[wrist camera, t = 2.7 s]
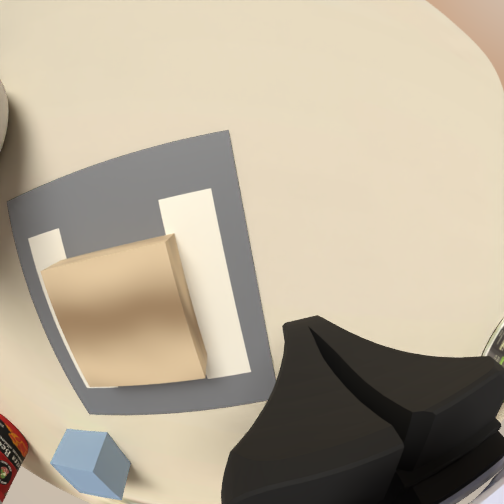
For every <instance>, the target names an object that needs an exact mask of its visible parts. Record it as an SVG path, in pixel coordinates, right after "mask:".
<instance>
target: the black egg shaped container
mask: <svg viewBox="0 0 504 504" xmlns="http://www.w3.org/2000/svg"><path fill="white" fill-rule="evenodd" d="M7 125H8V99H7V94H6V91H5V88H4V85H3V84H2V82H1V80H0V152H1V149H2V146H3V143H4V139H5V135H6V131H7Z"/></svg>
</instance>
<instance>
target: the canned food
mask: <svg viewBox="0 0 504 504" xmlns="http://www.w3.org/2000/svg"><path fill="white" fill-rule="evenodd" d="M27 453H28V444H27V441H26V440H25V438H24V437H23V435H22V434H21V433H20V432H19V430H18V429H17V428H16V427H15V426H14V425H13V424H12V423H11V422H10V421H9V420H7V419H6V418H5V417H4V416H3V415H1V414H0V504H2V502H3V500H4V498H5V496H6V494H7V492H8V490H9V488H10V485H11V484H12V482H13V480H14V478H15V476H16V474H17V472H18V470H19V468H20V466H21V464H22V462H23V460H24V459H25V457H26V455H27Z"/></svg>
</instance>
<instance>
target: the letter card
mask: <svg viewBox="0 0 504 504" xmlns="http://www.w3.org/2000/svg"><path fill="white" fill-rule="evenodd" d="M7 206H8V212H9V217H10V222H11V227H12V232H13V236H14V240H15V245H16V249H17V252H18V256H19V260H20V263H21V267H22V270H23V274H24V277H25V280H26V283H27V286H28V289H29V292H30V295H31V298H32V300H33V303H34V306H35V308H36V311H37V314H38V316H39V319H40V321H41V324H42V326H43V328H44V331H45V333H46V335H47V337H48V340H49V342H50V344H51V346H52V348H53V350H54V352H55V355H56V357H57V359H58V361H59V363H60V364H61V366H62V368H63V370H64V372H65V374H66V376H67V378H68V379H69V381H70V383H71V385H72V387H73V388H74V390H75V392H76V393H77V395H78V397H79V398H80V400H81V402H82V403H83V405H84V406H85V408H86V410H87V411H88V413H89V414H96V415H148V414H167V413H181V412H192V411H201V410H210V409H217V408H225V407H231V406H238V405H244V404H250V403H255V402H260V401H266V400H268V399H269V397H270V395H271V393H272V390H273V388H274V386H275V383H276V380H275V374H274V369H273V364H272V359H271V353H270V348H269V343H268V337H267V332H266V327H265V322H264V316H263V311H262V306H261V300H260V295H259V290H258V284H257V279H256V274H255V269H254V263H253V258H252V253H251V247H250V242H249V237H248V231H247V226H246V221H245V216H244V210H243V205H242V200H241V194H240V189H239V184H238V178H237V173H236V168H235V162H234V157H233V152H232V146H231V141H230V136H229V131H228V130H225V131H220V132H215V133H210V134H205V135H200V136H196V137H191V138H187V139H182V140H178V141H174V142H170V143H166V144H162V145H158V146H154V147H151V148H147V149H144V150H140V151H137V152H133V153H130V154H127V155H123V156H120V157H117V158H114V159H111V160H108V161H105V162H102V163H99V164H96V165H93V166H90V167H87V168H85V169H82V170H79V171H76V172H74V173H71V174H69V175H66V176H63V177H61V178H58V179H56V180H54V181H51V182H49V183H46V184H44V185H42V186H39V187H37V188H35V189H33V190H31V191H28V192H26V193H24V194H22V195H20V196H18V197H16V198H14V199H11V200H9V201H7ZM173 233H174V234H175V238H176V243H177V247H178V251H179V255H180V259H181V263H182V267H183V271H184V275H185V279H186V283H187V286H188V290H189V294H190V298H191V301H192V305H193V308H194V312H195V315H196V319H197V322H198V326H199V329H200V333H201V336H202V339H203V342H204V346H205V349H206V352H207V365H206V377H205V378H204V379H196V380H188V381H180V382H170V383H160V384H148V385H134V386H113V387H89V385H88V383H87V381H86V379H85V377H84V376H83V374H82V372H81V370H80V368H79V366H78V364H77V362H76V360H75V358H74V356H73V354H72V352H71V350H70V347H69V345H68V343H67V341H66V339H65V336H64V334H63V332H62V329H61V327H60V325H59V322H58V320H57V317H56V315H55V312H54V309H53V307H52V304H51V301H50V299H49V296H48V293H47V290H46V287H45V284H44V281H43V278H42V275H41V272H40V271H42V270H44V269H46V268H47V267H49V266H51V265H53V264H55V263H57V262H59V261H60V260H64V259H68V258H71V257H75V256H79V255H83V254H87V253H91V252H95V251H99V250H103V249H108V248H112V247H116V246H120V245H124V244H129V243H133V242H137V241H142V240H146V239H150V238H155V237H159V236H164V235H168V234H173Z"/></svg>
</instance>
